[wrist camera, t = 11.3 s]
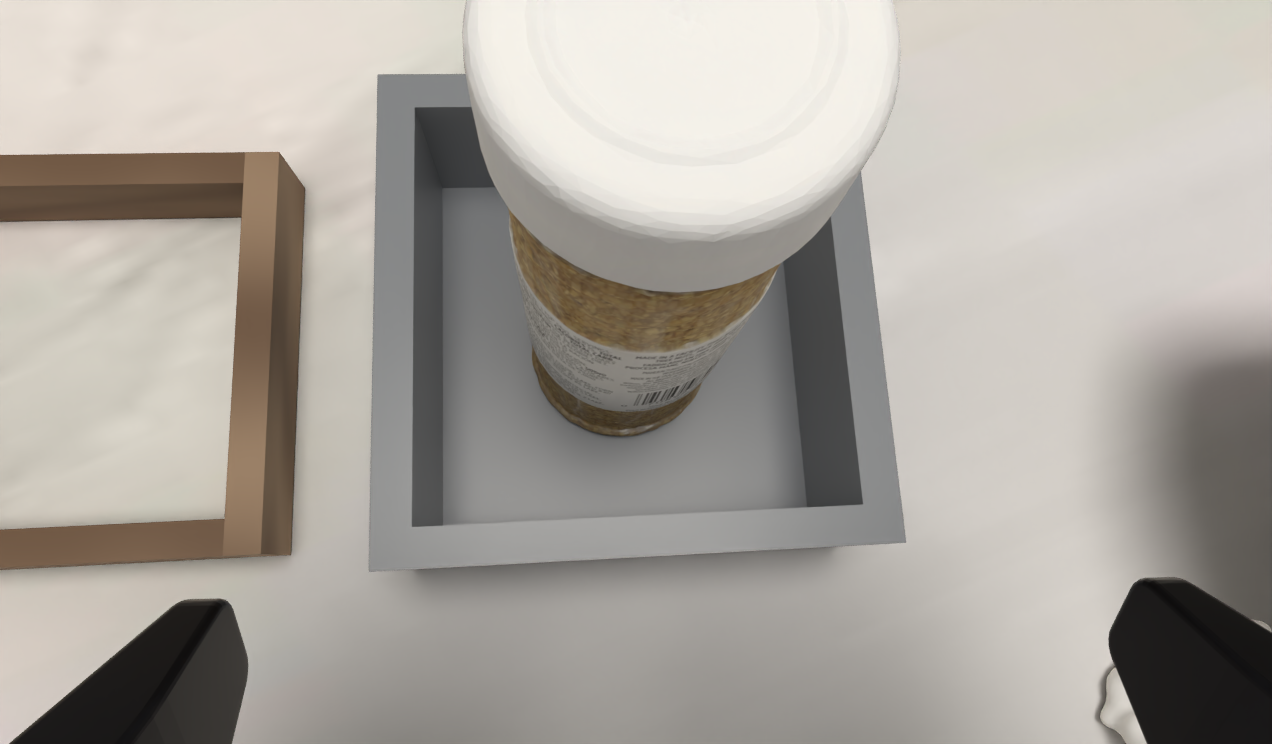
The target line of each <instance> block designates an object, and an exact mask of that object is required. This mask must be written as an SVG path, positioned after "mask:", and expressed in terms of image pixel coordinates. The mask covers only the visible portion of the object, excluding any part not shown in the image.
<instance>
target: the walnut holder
mask: <svg viewBox="0 0 1272 744" xmlns="http://www.w3.org/2000/svg"><path fill="white" fill-rule="evenodd" d="M304 198H305V188H304V186H303V185H302V183H301V182H300V181H299V179H298V178H297V176H296V175H295V174H294V172H293V171H292V169H291V168H290V167H289V165H288V164H287V162H286V161H285V159H284V158H283V157H282V155H281V154H280V152H235V153H144V154H53V155H0V221H44V220H101V219H158V218H215V217H242V218H241V236H240V254H239V272H238V290H237V307H236V325H235V343H234V361H233V379H232V397H231V415H230V432H229V450H228V468H227V486H226V504H225V519H213V520H192V521H172V522H151V523H130V524H109V525H88V526H68V527H47V528H26V529H5V530H0V570H10V569H29V568H48V567H68V566H87V565H106V564H125V563H144V562H164V561H183V560H202V559H221V558H240V557H260V556H279V555H291V538H292V512H293V486H294V460H295V433H296V407H297V381H298V355H299V329H300V303H301V277H302V251H303V224H304Z"/></svg>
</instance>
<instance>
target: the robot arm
mask: <svg viewBox="0 0 1272 744" xmlns="http://www.w3.org/2000/svg"><path fill="white" fill-rule="evenodd" d="M1108 639H1109V649H1110V654H1111V657H1112V660H1113V662H1114V665H1115V667H1116V670H1117V672H1118V674H1119V677H1120V679H1121V682H1122V684H1123V687H1124V689H1125V692H1126V694H1127V696H1128V699H1129V701H1130V704H1131V706H1132V709H1133V711H1134V714H1135V716H1136V718H1137V721H1138V723H1139V726H1140V728H1141V731H1142V733H1143V736H1144V738H1145V741H1146V743H1147V744H1272V632H1270V631H1269V630H1267V629H1266V628H1264V627H1262V626H1261V625H1259V624H1257V623H1256V622H1254V621H1252V620H1251V619H1249V618H1247V617H1246V616H1244V615H1243V614H1241V613H1239V612H1238V611H1236V610H1234V609H1233V608H1231V607H1229V606H1228V605H1226V604H1224V603H1223V602H1221V601H1219V600H1218V599H1216V598H1215V597H1213V596H1211V595H1210V594H1208V593H1206V592H1205V591H1203V590H1201V589H1200V588H1198V587H1196V586H1195V585H1193V584H1191V583H1190V582H1188V581H1186V580H1183V579H1181V578H1175V577H1162V578H1143V579H1140V580H1138V581H1137V582H1135V583H1134V584H1133V586H1132V587H1131V589H1130V591H1129V593H1128V595H1127V597H1126V599H1125V601H1124V603H1123V605H1122V607H1121V609H1120V611H1119V613H1118V615H1117V617H1116V619H1115V621H1114V623H1113V625H1112V627H1111V629H1110V632H1109V638H1108ZM247 676H248V657H247V653H246V650H245V646H244V643H243V640H242V637H241V633H240V630H239V627H238V624H237V620H236V617H235V614H234V611H233V608H232V606H231V605H230V603H229V602H228V601H226V600H223V599H188V600H183V601H181V602H179V603H177V604H175V605H174V606H172V607H171V608H170V609H169V610H167V611H166V612H165V613H164V614H163V615H161V616H160V617H159V618H158V619H157V620H156V621H154V622H153V623H152V624H151V625H150V626H148V627H147V628H146V629H145V630H144V631H142V632H141V633H140V634H139V635H138V636H137V637H135V638H134V639H133V640H132V641H131V642H129V643H128V644H127V645H126V646H125V647H123V648H122V649H121V650H120V651H119V652H117V653H116V654H115V655H114V656H113V657H112V658H110V659H109V660H108V661H107V662H106V663H104V664H103V665H102V666H101V667H100V668H98V669H97V670H96V671H95V672H94V673H93V674H91V675H90V676H89V677H88V678H87V679H85V680H84V681H83V682H82V683H81V684H79V685H78V686H77V687H76V688H75V689H73V690H72V691H71V692H70V693H69V694H68V695H66V696H65V697H64V698H63V699H62V700H60V701H59V702H58V703H57V704H56V705H54V706H53V707H52V708H51V709H50V710H49V711H47V712H46V713H45V714H44V715H43V716H41V717H40V718H39V719H38V720H37V721H35V722H34V723H33V724H32V725H31V726H29V727H28V728H27V729H26V730H25V731H24V732H22V733H21V734H20V735H19V736H18V737H16V738H15V739H14V740H13V741H12V742H10V743H9V744H232V741H233V737H234V733H235V728H236V724H237V720H238V716H239V712H240V707H241V703H242V699H243V695H244V691H245V687H246V682H247Z"/></svg>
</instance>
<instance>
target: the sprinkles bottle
mask: <svg viewBox="0 0 1272 744" xmlns="http://www.w3.org/2000/svg"><path fill="white" fill-rule="evenodd" d="M462 36H463V56H464V68H465V73H466V79H467V84H468V90H469V96H470V101H471V107H472V111H473V116H474V120H475V124H476V129H477V134H478V139H479V143H480V148H481V151H482V154H483V157H484V160H485V163H486V166H487V169H488V172H489V174H490V176H491V179H492V181H493V183H494V185H495V187H496V189H497V190H498V192H499V194H500V196H501V197H502V199H503V200H504V202H505V203H506V205H507V207H508V210H509V231H510V237H511V243H512V249H513V254H514V260H515V265H516V270H517V275H518V279H519V284H520V288H521V293H522V298H523V303H524V309H525V315H526V320H527V326H528V331H529V335H530V339H531V342H532V364H533V367H534V370H535V372H536V375H537V377H538V382H539V385H540V387H541V389H542V391H543V392H544V394H545V396H546V397H547V399H548V400H549V402H550V403H551V404H552V405H553V406H554V407H555V408H556V409H557V410H558V411H559V412H560V414H562V415H563V416H564V417H565V418H566V419H567V420H568V421H570V422H573V423H575V424H577V425H579V426H580V427H582V428H584V429H586V430H589V431H592V432H595V433H599V434H603V435H611V436H635V435H639V434H642V433H644V432H647V431H652V430H655V429H657V428H658V427H660V426H661V425H664V424H666V423H669V422H670V421H672V420H674V419H675V418H676V417H677V416H679V415H680V414H681V413H682V412H683V410H684V409H685V408H686V407H687V406H688V405H689V404H690V403H691V402H692V400H693V399H694V398H695V396H696V395H697V393H698V391H699V389H700V387H701V384H702V382H703V380H704V379H705V378H706V377H707V376H708V375H709V373H710V372H711V371H712V369H713V368H714V367H715V365H716V364H717V363H718V361H719V360H720V358H721V357H722V356H723V354H724V353H725V351H726V350H727V348H728V347H729V345H730V344H731V343H732V342H733V340H734V339H735V338H736V336H737V335H738V333H739V332H740V330H741V329H742V328H743V326H744V325H745V323H746V322H747V321H748V319H749V318H750V316H751V315H752V313H753V312H754V310H755V309H756V307H757V306H758V304H759V303H760V301H761V300H762V298H763V297H764V295H765V294H766V292H767V290H768V289H769V287H770V285H771V283H772V281H773V278H774V276H775V274H776V271H777V269H778V267H779V266H780V264H781V263H782V262H783V261H784V260H786V259H787V258H789V257H790V256H791V255H793V254H794V253H795V252H797V251H798V250H799V249H801V248H802V247H803V246H804V245H805V244H806V243H807V242H808V241H809V240H811V239H812V238H813V237H814V236H815V235H816V233H817V232H818V231H819V230H820V229H821V228H822V227H823V226H824V224H825V223H826V222H827V221H828V219H829V218H830V216H831V215H832V214H833V212H834V211H835V210H836V208H837V207H838V205H839V204H840V202H841V201H842V199H843V198H844V196H845V195H846V193H847V191H848V190H849V188H850V187H851V185H852V184H853V182H854V181H855V179H856V178H857V176H858V174H859V173H860V171H861V170H862V168H863V167H864V165H865V163H866V162H867V160H868V159H869V157H870V156H871V154H872V152H873V151H874V149H875V148H876V146H877V144H878V142H879V140H880V138H881V136H882V134H883V132H884V130H885V128H886V125H887V123H888V120H889V117H890V114H891V112H892V109H893V106H894V103H895V98H896V93H897V87H898V82H899V72H900V56H901V47H900V32H899V26H898V20H897V15H896V11H895V7H894V4H893V1H892V0H466V5H465V11H464V19H463V30H462Z"/></svg>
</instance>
